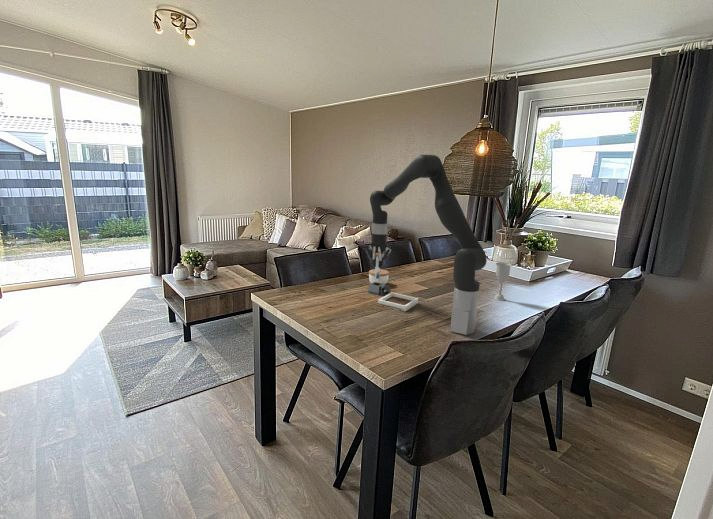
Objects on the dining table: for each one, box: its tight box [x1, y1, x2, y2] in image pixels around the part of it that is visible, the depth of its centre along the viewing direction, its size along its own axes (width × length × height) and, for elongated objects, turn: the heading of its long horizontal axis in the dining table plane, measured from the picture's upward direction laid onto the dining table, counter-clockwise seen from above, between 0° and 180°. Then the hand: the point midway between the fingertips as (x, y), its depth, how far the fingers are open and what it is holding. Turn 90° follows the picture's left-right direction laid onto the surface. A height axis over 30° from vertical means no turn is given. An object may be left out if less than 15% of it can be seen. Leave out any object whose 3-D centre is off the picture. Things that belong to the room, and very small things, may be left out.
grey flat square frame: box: [377, 291, 419, 312], centre depth 176 cm, size 14×14×2 cm
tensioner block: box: [364, 282, 395, 298], centre depth 189 cm, size 9×12×5 cm
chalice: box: [493, 262, 513, 302], centre depth 187 cm, size 7×7×18 cm
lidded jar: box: [368, 268, 390, 285], centre depth 203 cm, size 11×11×9 cm
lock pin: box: [374, 253, 382, 279], centre depth 187 cm, size 3×3×13 cm
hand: (377, 267), depth 187 cm, fingers closed on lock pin, 2 cm apart
